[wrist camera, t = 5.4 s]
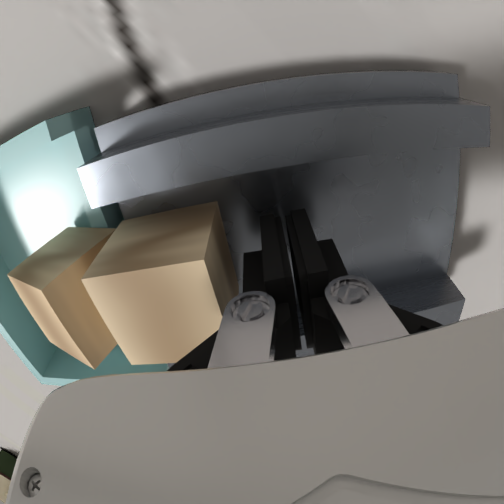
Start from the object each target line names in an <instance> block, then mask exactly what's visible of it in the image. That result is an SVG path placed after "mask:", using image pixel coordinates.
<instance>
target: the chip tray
mask: <svg viewBox="0 0 504 504" xmlns="http://www.w3.org/2000/svg"><path fill="white" fill-rule="evenodd" d="M94 128H95V125H94V122H93V118H92V114H91V111H90V107H86V108H82V109H79V110H76V111H72V112H69V113H66V114H63V115H60V116H57V117H54V118H51V119H48V120H45V121H43V122H41V123H39V124H37V125H36V126H34V127H32V128H30V129H28V130H26V131H25V132H23V133H21V134H19V135H17V136H16V137H14V138H12V139H11V140H9V141H7V142H6V143H4V144H2V145H1V146H0V333H1V334H2V336H3V337H4V338H5V340H6V341H7V342H8V344H9V345H10V346H11V348H12V349H13V350H14V352H15V353H16V354H17V355H18V357H19V358H20V359H21V360H22V362H23V363H24V364H25V365H26V366H27V368H28V369H29V370H30V371H31V372H32V373H33V375H34V376H35V377H36V378H37V379H38V380H39V381H40V383H41V384H48V385H59V386H64V385H66V384H69V383H72V382H74V381H77V380H80V379H85V378H90V377H94V376H102V375H110V374H129V373H145V372H165V371H167V370H168V369H169V366H168V364H167V363H164V364H142V365H131V363H130V362H129V360H128V359H127V357H126V356H125V354H124V353H123V351H122V350H121V348H120V346H119V345H118V344H117V345H116V346H115V347H114V349H113V350H112V351H111V352H110V353H109V354H108V355H107V356H106V358H105V359H104V360H103V361H102V362H101V363H100V364H99V366H98V367H97V368H96V369H93V368H91V367H89V366H88V365H86V364H84V363H83V362H81V361H79V360H78V359H76V358H74V357H73V356H71V355H70V354H68V353H67V352H65V351H63V350H62V349H60V348H59V347H57V346H56V345H54V344H53V343H51V342H50V341H49V340H48V338H47V337H46V335H45V334H44V333H43V331H42V330H41V328H40V327H39V325H38V324H37V323H36V321H35V320H34V318H33V317H32V315H31V313H30V312H29V310H28V309H27V307H26V306H25V304H24V303H23V301H22V299H21V298H20V296H19V294H18V293H17V291H16V289H15V288H14V286H13V284H12V283H11V281H10V279H9V277H8V276H7V274H8V273H9V272H10V271H12V270H13V269H14V268H15V267H16V266H18V265H19V264H20V263H21V262H23V261H24V260H25V259H26V258H28V257H29V256H30V255H31V254H33V253H34V252H35V251H37V250H38V249H39V248H40V247H42V246H43V245H44V244H46V243H47V242H48V241H50V240H51V239H52V238H54V237H55V236H56V235H58V234H59V233H61V232H62V231H63V230H65V229H66V228H67V227H88V228H115V229H116V228H117V227H118V226H119V224H120V223H121V222H122V221H123V220H125V219H124V217H123V214H122V211H121V209H120V206H119V203H118V202H116V203H112V204H109V205H105V206H101V207H98V208H94V209H91V206H90V204H89V201H88V199H87V196H86V193H85V190H84V188H83V185H82V182H81V179H80V177H79V174H78V171H77V168H78V167H80V166H81V165H83V164H84V163H86V162H87V161H89V160H90V159H92V158H93V157H95V156H97V155H98V154H100V153H101V150H100V147H99V144H98V140H97V137H96V134H95V130H94Z"/></svg>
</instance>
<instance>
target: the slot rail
mask: <svg viewBox="0 0 504 504" xmlns="http://www.w3.org/2000/svg"><path fill="white" fill-rule="evenodd" d="M94 130H95V134H96V137H97V140H98V144H99V147H100V150H101V153H100V154H98V155H97V156H95V157H93V158H92V159H90V160H89V161H87V162H86V163H84V164H83V165H81V166H80V167H78V168H77V171H78V174H79V177H80V179H81V182H82V185H83V188H84V190H85V193H86V196H87V199H88V201H89V204H90V206H91V209H94V208H98V207H101V206H105V205H109V204H112V203H116V202H118V203H119V206H120V209H121V211H122V214H123V217H124V219H125V220H128V219H132V218H137V217H141V216H146V215H150V214H155V213H160V212H164V211H169V210H174V209H179V208H184V207H189V206H194V205H199V204H204V203H209V202H214V201H217V202H218V206H219V210H220V214H221V218H222V222H223V226H224V230H225V234H226V238H227V242H228V246H229V250H230V254H231V258H232V261H233V265H234V269H235V273H236V277H237V281H238V285H239V294H242V293H243V254H244V253H246V252H253V251H259V250H262V244H261V231H260V217H259V216H261V215H267V214H273V213H274V216H275V217H278V216H280V217H281V221H282V226H283V231H284V236H285V241H286V246H287V250H288V255H289V260H290V266H291V271H292V276H293V283H294V290H295V297H296V305H297V313H298V321H299V329H300V337H301V345H302V350H296V357H303V356H309V355H314V350H313V348H308V349H307V346H306V340H305V335H304V329H303V324H302V318H301V313H300V308H299V302H298V297H297V292H296V287H295V281H294V275H293V268H292V260H291V253H290V246H289V240H288V233H287V226H286V219H285V215H290V211H291V210H297V209H303V208H305V210H306V213H307V215H308V218H309V220H310V223H311V226H312V228H313V231H314V234H315V236H316V239H317V241H320V240H326V239H333V241H334V243H335V245H336V248H337V250H338V252H339V254H340V257H341V259H342V261H343V263H344V266H345V268H346V270H347V272H348V275H355V276H360V277H363V278H365V279H367V280H369V281H370V282H371V283H372V284H373V285H374V286H375V288H376V289H377V290H378V292H379V293H380V294H381V296H382V297H383V298H384V300H385V301H386V302H387V304H390V305H393V306H395V307H398V308H401V309H403V310H406V311H409V312H412V313H414V314H417V315H420V316H423V317H425V318H428V319H431V320H433V321H436V322H438V323H440V324H442V325H447V324H451V323H454V322H458V321H459V319H460V315H461V312H462V309H463V305H464V302H465V298H464V297H463V295H462V294H461V292H460V291H459V290H458V288H457V287H456V286H455V284H454V283H453V282H452V280H451V279H450V278H449V276H448V275H447V270H448V265H449V259H450V253H451V247H452V241H453V234H454V226H455V218H456V209H457V199H458V186H459V170H460V148H468V147H490V106H487V105H484V104H480V103H476V102H473V101H469V100H465V99H461V98H459V87H458V75H457V74H452V73H442V72H431V71H357V72H340V73H327V74H317V75H307V76H298V77H290V78H283V79H276V80H270V81H263V82H257V83H252V84H246V85H241V86H236V87H231V88H226V89H221V90H216V91H212V92H208V93H203V94H199V95H195V96H191V97H187V98H183V99H180V100H176V101H172V102H169V103H165V104H162V105H158V106H155V107H152V108H148V109H145V110H142V111H139V112H136V113H133V114H130V115H127V116H124V117H121V118H118V119H115V120H113V121H110V122H108V123H105V124H103V125H101V126H98V127H96V128H94ZM167 364H168V366H169V368H170V367H171V366H172V365H174V364H175V363H167Z"/></svg>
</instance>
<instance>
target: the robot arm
mask: <svg viewBox="0 0 504 504" xmlns="http://www.w3.org/2000/svg"><path fill="white" fill-rule="evenodd" d="M259 217H260V231H261V244H262V250H259V251H253V252H246V253H244V254H243V293H242V294H239V295H237V296H236V297H234V298H232V299H231V300H230V301H229V302H228V303H227V305H226V307H225V310H224V313H223V317H222V320H221V323H220V327H219V330H217V331H216V332H215V333H214V334H212V335H211V336H210V337H208V338H207V339H206V340H205V341H203V342H202V343H201V344H200V345H198V346H197V347H196V348H194V349H193V350H192V351H191V352H189V353H188V354H187V355H185V356H184V357H183V358H181V359H180V360H179V361H178V362H176V363H175V364H174V365H172V366H171V367H170V368H169V369H168V370H167V371H165V372H145V373H129V374H110V375H102V376H94V377H90V378H85V379H80V380H77V381H74V382H72V383H69V384H66V385H64V386H62V387H59V388H58V389H56V390H54V391H52V392H51V393H50V394H49V395H48V396H47V397H46V398H45V400H44V401H43V402H42V404H41V405H40V407H39V408H38V410H37V412H36V414H35V416H34V418H33V420H32V422H31V424H30V426H29V428H28V431H27V433H26V436H25V438H24V441H23V444H22V446H21V449H20V452H19V455H18V458H17V461H16V464H15V467H14V471H13V475H12V478H11V482H10V486H9V490H8V494H7V498H6V503H5V504H504V308H502V309H498V310H495V311H492V312H488V313H485V314H481V315H478V316H474V317H471V318H467V319H464V320H461V321H458V322H454V323H451V324H447V325H442V324H440V323H438V322H436V321H433V320H431V319H428V318H425V317H423V316H420V315H417V314H414V313H412V312H409V311H406V310H403V309H401V308H398V307H395V306H393V305H390V304H387V302H386V301H385V300H384V298H383V297H382V296H381V294H380V293H379V292H378V290H377V289H376V288H375V286H374V285H373V284H372V283H371V282H370V281H369V280H367V279H365V278H363V277H360V276H355V275H348V272H347V270H346V268H345V266H344V263H343V261H342V259H341V257H340V254H339V252H338V250H337V248H336V245H335V243H334V241H333V239H326V240H320V241H317V239H316V236H315V234H314V231H313V228H312V226H311V223H310V220H309V218H308V215H307V213H306V210H305V208H303V209H297V210H291V211H290V215H285V219H286V226H287V233H288V240H289V246H290V253H291V260H292V268H293V275H294V281H295V287H296V292H297V297H298V302H299V308H300V313H301V318H302V324H303V329H304V335H305V340H306V346H307V349H308V348H313V350H314V355H309V356H303V357H296V350H302V345H301V337H300V329H299V321H298V313H297V305H296V297H295V290H294V283H293V276H292V271H291V266H290V260H289V255H288V250H287V246H286V241H285V236H284V231H283V226H282V221H281V217H280V216H278V217H275V216H274V213H273V214H267V215H261V216H259Z"/></svg>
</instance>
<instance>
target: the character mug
mask: <svg viewBox="0 0 504 504" xmlns="http://www.w3.org/2000/svg"><path fill="white" fill-rule="evenodd" d="M14 457H15V456H14V455H10V454H9V453H7V452H5V451H3V450H1V452H0V501H2V502H3V503H6V498H7V494H8V490H9V486H10V482H11V478H12V475H13V471H14V467H15V464H16V461H17V460H16V459H15V458H14Z"/></svg>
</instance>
